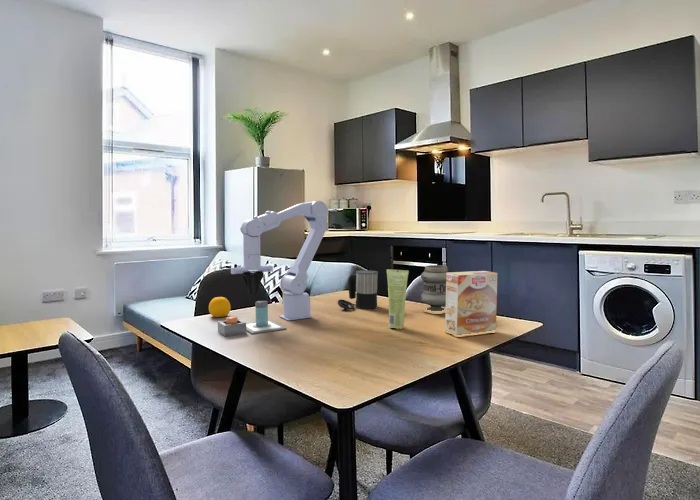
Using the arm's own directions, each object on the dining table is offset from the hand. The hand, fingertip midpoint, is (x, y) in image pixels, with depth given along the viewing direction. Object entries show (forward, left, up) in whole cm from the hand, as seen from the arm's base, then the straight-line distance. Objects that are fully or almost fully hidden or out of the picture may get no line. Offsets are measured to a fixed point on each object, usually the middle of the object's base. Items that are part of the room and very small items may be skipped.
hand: (252, 293), depth 158 cm
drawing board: (0, +8, -10) cm, 13 cm away
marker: (0, +8, -10) cm, 13 cm away
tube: (-38, +33, -11) cm, 51 cm away
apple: (+6, -17, -11) cm, 21 cm away
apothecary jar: (-67, +21, -11) cm, 71 cm away
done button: (+10, +9, -8) cm, 16 cm away
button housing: (+10, +9, -10) cm, 17 cm away
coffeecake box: (-53, +51, -11) cm, 74 cm away
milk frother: (-45, -2, -11) cm, 47 cm away
